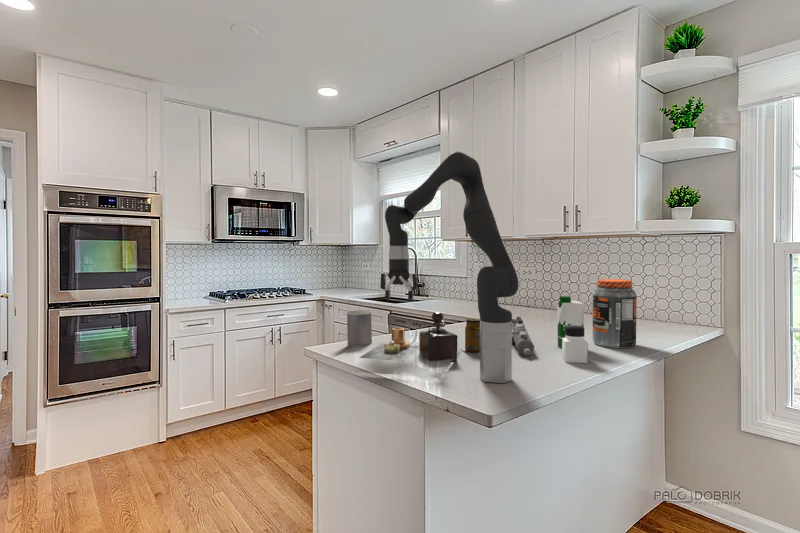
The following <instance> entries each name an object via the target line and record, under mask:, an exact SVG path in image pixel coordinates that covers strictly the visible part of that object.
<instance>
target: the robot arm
mask: <svg viewBox="0 0 800 533" xmlns="http://www.w3.org/2000/svg"><path fill="white" fill-rule="evenodd" d="M450 180H452V181H454V182H456V183H459V185H460V186H461V187H462V190H463V193H464V196H465V204H464V208H463V211H462V212H463V215H462V217H463V222H464V225H465V229H466V231H467V234H468V236H469V237H470V239H471V241H472V242H474V244H475V245H477V247H478V248H480V250H481V251H483V253H484V254H485V255H486V256H487V257H488V259H489V261H490V263H491V266H487V265H486V266H483V267H482V268H481V269H479V270H478V273H477V279H476V292H477V293H476V295H477V310H478V312H479V320H480V354H479V379H481V380H482V381H483V382H485V383H498V384H506V383H508V382H511V381H512V379H513V363H512V362H513V360H512V359H513V353H512V352H513V345H512V319H513V314H512V311H511V310H509V309H506V308H503V307H502V306H500V305H499V302H498V301H499V300H498V298H509V297H514V296H515V295H516V294H517V292H518V290H519V278H518V274H517V272H516V270H515V267H514V265H513V262H512V260H511V257H510V256H509V254H508V251H507V249H506V247H505V245H504V242H503V240H502V237H501V233H500V231H499V227H498V225H497V221H496V218H495V215H494V213H493V210H492V207H491V204H490V202H489V199H488V196H487V193H486V189H485V185H484V182H483V176H482V171H481V168H480V165H479V162H478V160H476V159H475V158H474V157H472V156H469V155H467V153H464V152H461V151H454V152H452V153H450V154H449V155H448V156H447V157H446V158H445V159H444V160H443V161H442V162H441V163H440V164H439V166H438V167H436V169H434V171H433V172H432V173H431V174H430V176H429V177H428V178H426V180H425V181H424V182H423V183H422V184H421V185H420V186H418V187H417V188H415V189H414V190H412V192H411V193H409V194H408V195H407V196H406V197H405V198H404V200H403V205H399V204H391V205H388V206H387V208H386V210H385V213H384V220H385V224H386V228H387V232H388V235H389V238H388V239H389V241H388V242H389V250H388V273H386V272H382V273H381V274H380V289H382V290H384V293H385V294H384V296H385V297H384V298H385V299H386V301H390V300H391V290H390V289H391V288H392V287H393V286H394V285H395V286H396V285H400V286H403V285H404V287H406V288H407V290H408V291H407V294H408V295H407V298H408V299H407V301H408V302H411V301H412V300H413V299H414V290H417V289H418V288H419V283H418V274H417V273H416V272H415V273H414V272H413V273H410V272H409V270H410V268H409V267H410V266H409V265H410V263H409V262H410V261H409V259H410V254H409V252H410V251H409V237H408V235H409V234H408V232H407V231H406V230H405V229H402V228H403V227H402V225H406V224H408V223H410V222H411V221H412V220H413V219H414V218H415V217H416V216H417V214H418V212H420V211H421V210H423V209H424V208H426V207H427V206H428V205H430V203H432V202H433V200H434V198H435V196H436V194H437V192H438V189H439V188H440V187H441V186H442V185H443V184H445V183H446V182H448V181H450ZM387 279H389V281H388V283H386V282H387ZM409 279H411V280H412V284H411V282H410V281H409ZM386 284H387V285H386Z"/></svg>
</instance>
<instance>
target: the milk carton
mask: <svg viewBox="0 0 800 533" xmlns="http://www.w3.org/2000/svg"><path fill="white" fill-rule="evenodd" d="M571 298H572V297H571V296H567V295H562V296H559V300H557V301H556V306H557V347H558V348H560V349H561V350H562V338H566V337H565V327H566V326H568V325H579V326H582V327H584V326H585V324H584V320H585V318H584V315H585V303H584V302H582V301H577V300H573V301H572V300H571ZM584 328H585V327H584Z"/></svg>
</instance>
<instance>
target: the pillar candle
mask: <svg viewBox="0 0 800 533" xmlns="http://www.w3.org/2000/svg"><path fill="white" fill-rule="evenodd" d="M346 313H347V314H346V315H347V316H346V317H347V319H346V321H347V323H346V324H347V325H346V326H347V328H346V329H347V348H349V349H353V348H355V347H360V346H362V347H363V346H369V345H372V343H373V339H372V338H373V337H372V336H373V333H372V329H373V328H372V311H369V310H360V308H359V309H358V310H351V311H348V312H346Z"/></svg>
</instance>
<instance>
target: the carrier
mask: <svg viewBox="0 0 800 533" xmlns="http://www.w3.org/2000/svg"><path fill="white" fill-rule="evenodd" d="M388 342H389V343H388ZM388 342H387V343H383V342H382V343H381V344H379V345H377V346H376V347H374V348H373V349H371V350H369V351H367V352H366V353H364V354H363V355H361V356H360V357H359V359H370V360H373V359H375V360H382V361H383V360H385V361H398V362H399V361H400V362H404V361H405V360H406V359H408V358H409V357H410V356H411V355H412V354H413V353H415V352H416V351H417V350H418V349H419V345H417V344H416V345H415V344H410V347H408V348H407V349H400V344H398V343H395V342H394V341H392V340H391V341H388Z"/></svg>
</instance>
